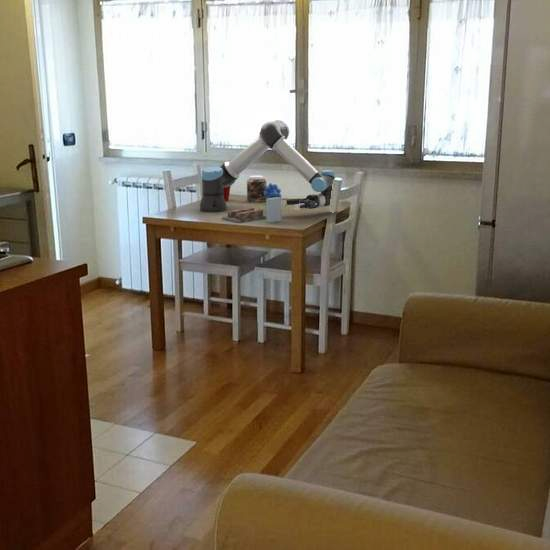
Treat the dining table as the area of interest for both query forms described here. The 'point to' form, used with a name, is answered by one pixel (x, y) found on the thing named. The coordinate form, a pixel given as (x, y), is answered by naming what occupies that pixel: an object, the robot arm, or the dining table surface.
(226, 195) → the plastic cup
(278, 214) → the pale grey panel
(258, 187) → the jar
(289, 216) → the dining table surface
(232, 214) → the slot rack
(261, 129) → the robot arm
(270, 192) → the blue gear
